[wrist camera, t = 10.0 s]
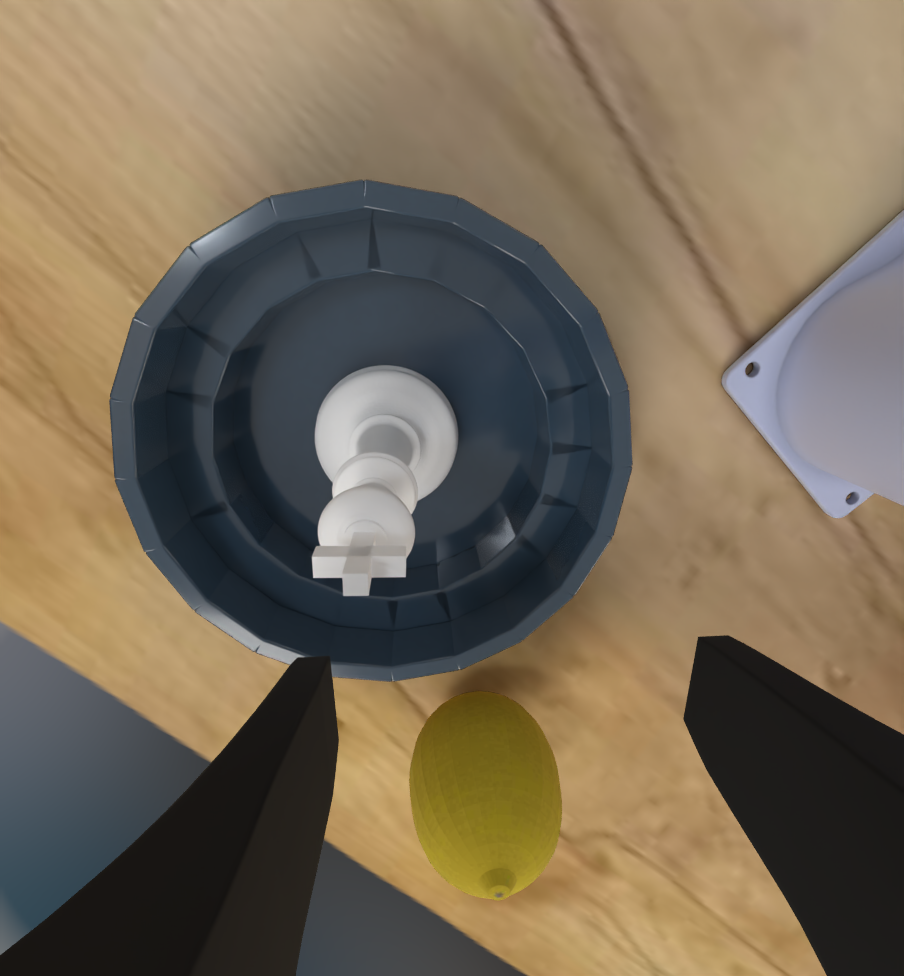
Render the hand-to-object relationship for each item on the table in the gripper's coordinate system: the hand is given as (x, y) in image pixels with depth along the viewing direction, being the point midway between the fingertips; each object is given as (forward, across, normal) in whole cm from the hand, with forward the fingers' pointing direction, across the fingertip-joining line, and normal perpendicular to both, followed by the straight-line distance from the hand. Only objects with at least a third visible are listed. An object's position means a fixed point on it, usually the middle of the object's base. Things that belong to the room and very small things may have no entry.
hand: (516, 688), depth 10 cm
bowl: (+10, +3, -3) cm, 11 cm away
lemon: (+11, 0, +10) cm, 14 cm away
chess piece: (+10, +3, -3) cm, 11 cm away
